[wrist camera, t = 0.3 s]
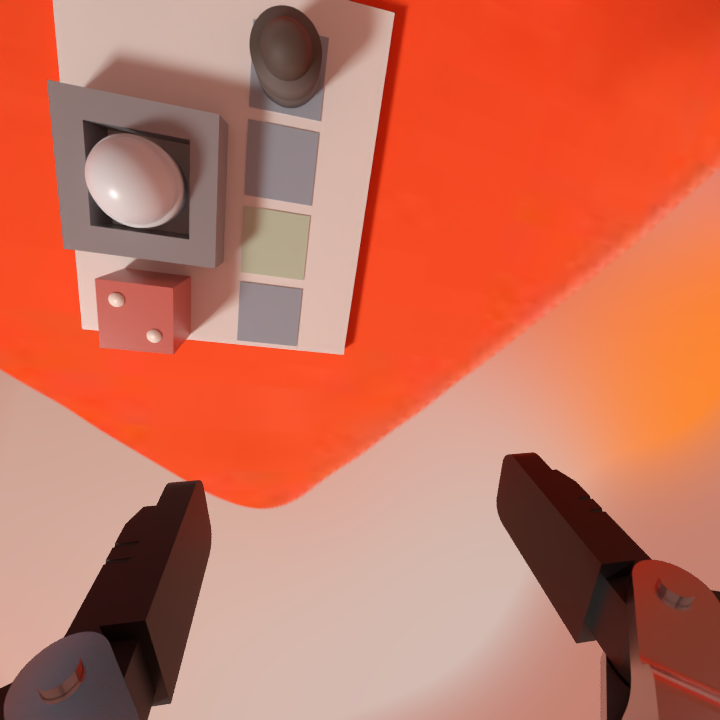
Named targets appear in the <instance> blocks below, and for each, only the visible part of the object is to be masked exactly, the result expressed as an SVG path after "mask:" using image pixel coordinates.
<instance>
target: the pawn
mask: <svg viewBox="0 0 720 720" xmlns="http://www.w3.org/2000/svg"><path fill="white" fill-rule="evenodd" d="M249 48H250V55H251V59H252V62H253V65H254V68H255V71H256V74H257V77H258V80H259V83H260V85H261V87H262V89H263V91H264V93H265V94H266V95H267V97H268V98H269V99H270V100H271V101H273V102H274V103H276V104H277V105H279V106H281V107H285V108H298V107H301V106H303V105H305V104H306V103H307V102H309V101H310V100H311V98H312V97H313V96H314V94H315V92H316V90H317V87H318V83H319V76H320V69H321V62H322V45H321V40H320V37H319V34H318V32H317V30H316V28H315V26H314V24H313V23H312V21H311V20H310V19H309V18H308V17H307V16H306V15H305V14H304V13H303V12H301V11H300V10H298V9H296V8H294V7H291V6H286V5H278V6H273V7H270V8H268V9H266V10H265V11H264V12H262V13H261V14H260V15H259V16H258V18H257V19H256V21H255V23H254V25H253V27H252V30H251V34H250V41H249Z"/></svg>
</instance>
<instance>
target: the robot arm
mask: <svg viewBox="0 0 720 720" xmlns="http://www.w3.org/2000/svg"><path fill="white" fill-rule="evenodd" d="M497 510H498V514H499V517H500V520H501V522H502V524H503V525H504V527H505V529H506V530H507V532H508V533H509V535H510V537H511V538H512V540H513V542H514V543H515V545H516V546H517V548H518V550H519V551H520V553H521V555H522V556H523V558H524V559H525V561H526V562H527V564H528V566H529V567H530V569H531V571H532V572H533V574H534V575H535V577H536V579H537V580H538V582H539V583H540V585H541V587H542V588H543V590H544V592H545V593H546V595H547V596H548V598H549V600H550V601H551V603H552V605H553V606H554V608H555V609H556V611H557V612H558V614H559V616H560V618H561V619H562V621H563V622H564V624H565V626H566V627H567V629H568V630H569V632H570V634H571V635H572V637H573V638H574V640H575V642H576V643H581V642H588V641H595V640H597V642H598V643H599V645H600V646H601V648H602V649H603V654H602V656H601V662H600V664H601V720H720V592H718V591H712V590H710V589H709V588H708V587H707V586H706V585H705V584H704V583H703V582H702V581H700V580H699V579H698V578H696V577H695V576H694V575H692V574H691V573H689V572H687V571H686V570H684V569H682V568H680V567H678V566H675V565H673V564H670V563H667V562H663V561H658V560H652V559H651V558H650V557H649V556H648V555H647V554H646V553H645V552H644V551H643V550H642V549H641V548H640V547H639V546H638V545H637V544H636V543H635V542H634V541H633V540H632V539H631V538H630V537H629V536H628V535H627V534H626V533H625V532H624V531H623V530H622V529H621V527H620V526H619V525H617V523H616V522H615V521H614V520H613V519H612V518H611V517H610V516H609V515H608V514H607V513H606V512H603V511H602V508H601V507H600V506H599V505H598V504H597V503H596V502H595V501H594V500H593V499H590V496H589V495H588V494H587V493H586V491H585V490H583V488H582V487H580V485H579V484H578V483H577V482H576V481H574V480H573V479H571V478H569V477H567V476H566V475H564V474H563V473H561V472H560V471H558V470H552V469H551V468H550V467H549V466H548V465H547V464H546V463H545V462H544V461H543V460H542V459H541V458H540V456H538V455H537V454H536V453H521V454H510V455H506V456H505V457H504V459H503V464H502V470H501V476H500V482H499V488H498V494H497ZM210 549H211V525H210V520H209V514H208V508H207V503H206V498H205V492H204V487H203V484H202V482H201V481H200V480H196V481H185V482H173V483H168V484H167V485H166V487H165V488H164V491H163V493H162V495H161V497H160V499H159V501H158V503H157V505H156V506H147V507H143V508H142V509H141V510H140V511H139V512H138V513H137V514H136V515H135V516H134V517H133V518H131V519H130V520H129V521H128V522H127V523H126V524H125V526H124V528H123V530H122V532H121V533H120V535H119V537H118V539H117V541H116V543H115V547H114V548H112V550H111V552H110V554H109V556H108V557H107V559H106V564H105V565H103V567H102V569H101V570H100V572H99V574H98V576H97V578H96V580H95V582H94V583H93V585H92V587H91V589H90V591H89V593H88V594H87V596H86V598H85V600H84V602H83V604H82V605H81V607H80V609H79V611H78V613H77V615H76V617H75V619H74V620H73V622H72V624H71V626H70V628H69V629H68V631H67V633H66V635H65V636H64V638H62V639H60V640H58V641H56V642H54V643H52V644H51V645H49V646H48V647H46V648H45V649H43V650H42V651H41V652H40V653H38V654H37V655H36V656H35V657H34V658H33V659H32V660H31V661H29V662H28V663H27V664H26V666H25V667H24V668H23V669H22V670H21V671H20V673H19V674H18V676H17V677H16V678H15V679H14V681H13V682H12V683H11V684H8V685H6V686H4V687H2V688H0V720H147V719H148V716H149V713H150V709H151V706H157V705H164V704H170V703H171V701H172V697H173V693H174V689H175V685H176V682H177V678H178V674H179V670H180V666H181V662H182V658H183V655H184V650H185V647H186V643H187V639H188V635H189V631H190V627H191V624H192V620H193V616H194V612H195V608H196V604H197V600H198V596H199V593H200V589H201V585H202V581H203V577H204V573H205V569H206V566H207V562H208V558H209V554H210Z"/></svg>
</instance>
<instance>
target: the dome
mask: <svg viewBox="0 0 720 720" xmlns="http://www.w3.org/2000/svg"><path fill="white" fill-rule="evenodd" d="M85 180H86V184H87V187H88V189H89V192H90V194H91V196H92V197H93V199H94V200H95V202H96V203H97V204H98V206H99V207H100V208H101V209H102V210H103V211H104V212H105V213H106V214H107V215H108V216H110V217H111V218H112V219H114V220H116V221H117V222H119V223H122V224H124V225H127V226H130V227H135V228H149V227H156V226H161V225H164V224H167V223H169V222H171V221H172V220H174V219H175V218H176V217H177V216H178V215H179V214H180V213H181V211H182V210H183V208H184V206H185V203H186V199H187V183H186V179H185V175H184V173H183V170H182V168H181V167H180V165H179V163H178V162H177V160H176V159H175V158H174V157H173V156H172V155H171V154H170V153H169V152H168V151H167V150H166V149H164V148H163V147H162V146H160V145H158V144H156V143H154V142H152V141H149V140H147V139H145V138H142V137H140V136H137V135H133V134H126V133H124V134H114V135H110V136H107V137H105V138H104V139H102V140H101V141H99V142H98V143H97V144H96V145H95V146H94V147H93V149H92V150H91V152H90V153H89V155H88V157H87V160H86V164H85Z"/></svg>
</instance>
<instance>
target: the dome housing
mask: <svg viewBox="0 0 720 720" xmlns="http://www.w3.org/2000/svg"><path fill="white" fill-rule="evenodd" d="M47 84H48V94H49V104H50V115H51V125H52V135H53V145H54V155H55V165H56V175H57V185H58V195H59V205H60V215H61V226H62V236H63V246H64V249H71V250H78V251H86V252H93V253H101V254H109V255H116V256H124V257H131V258H139V259H147V260H154V261H162V262H169V263H177V264H185V265H192V266H200V267H207V268H216V267H218V266H219V265H220V264H222V263H223V260H224V232H225V204H226V177H227V149H228V124H227V122H226V121H225V120H224V119H223V118H222V117H221V116H220V115H219V114H215V113H210V112H205V111H200V110H195V109H190V108H185V107H180V106H175V105H170V104H166V103H161V102H156V101H151V100H146V99H141V98H136V97H131V96H126V95H121V94H116V93H111V92H106V91H101V90H96V89H91V88H86V87H81V86H76V85H71V84H66V83H61V82H56V81H51V80H47ZM108 130H113V131H119V132H124V133H129V134H135V135H140V136H146V137H151V138H156V139H162V140H167V141H173V142H178V143H183V144H189V145H190V210H189V234H182V233H175V232H168V231H162V230H155V229H148V228H135V227H130V226H127V225H120V224H113V219H112V218H111V217H110V216H108V215H107V214H106V213H105V212H104V211H103V210H102V209H101V208H100V207H99V206H98V204H97V203H96V202H95V200H94V199H93V197H92V196H91V194H90V192H89V189H88V187H87V184H86V180H85V164H86V160H87V157H88V155H89V153H90V152H91V150H92V149H93V147H94V146H95V145H96V144H97V143H98V142H99V141H101V140H102V139H104V138H105V137H107V136H108Z"/></svg>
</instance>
